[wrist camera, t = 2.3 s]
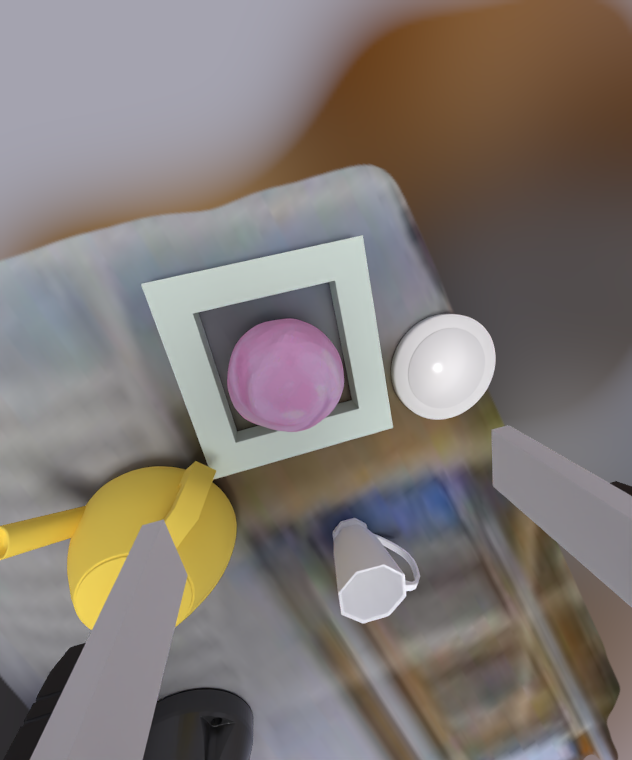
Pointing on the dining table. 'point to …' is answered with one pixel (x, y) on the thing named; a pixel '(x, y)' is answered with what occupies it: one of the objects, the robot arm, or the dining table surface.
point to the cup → (368, 572)
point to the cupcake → (285, 375)
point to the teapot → (136, 533)
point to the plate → (443, 365)
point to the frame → (256, 280)
